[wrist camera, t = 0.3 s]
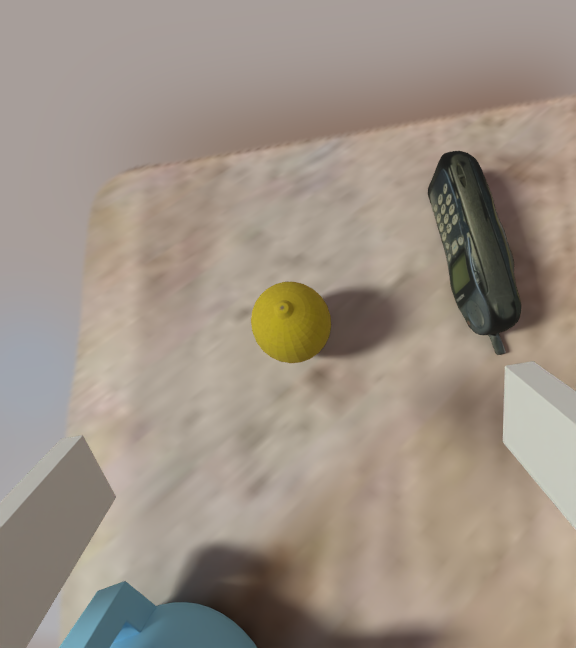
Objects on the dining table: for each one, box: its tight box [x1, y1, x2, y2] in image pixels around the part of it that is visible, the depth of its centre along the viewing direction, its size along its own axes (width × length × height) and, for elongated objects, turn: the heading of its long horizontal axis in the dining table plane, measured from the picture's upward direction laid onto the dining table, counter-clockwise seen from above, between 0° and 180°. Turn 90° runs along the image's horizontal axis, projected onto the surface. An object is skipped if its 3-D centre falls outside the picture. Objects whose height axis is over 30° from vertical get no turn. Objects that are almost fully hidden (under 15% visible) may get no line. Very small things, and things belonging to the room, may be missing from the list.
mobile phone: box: [428, 151, 521, 355], centre depth 24 cm, size 5×3×15 cm
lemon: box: [251, 282, 331, 363], centre depth 23 cm, size 6×6×8 cm
